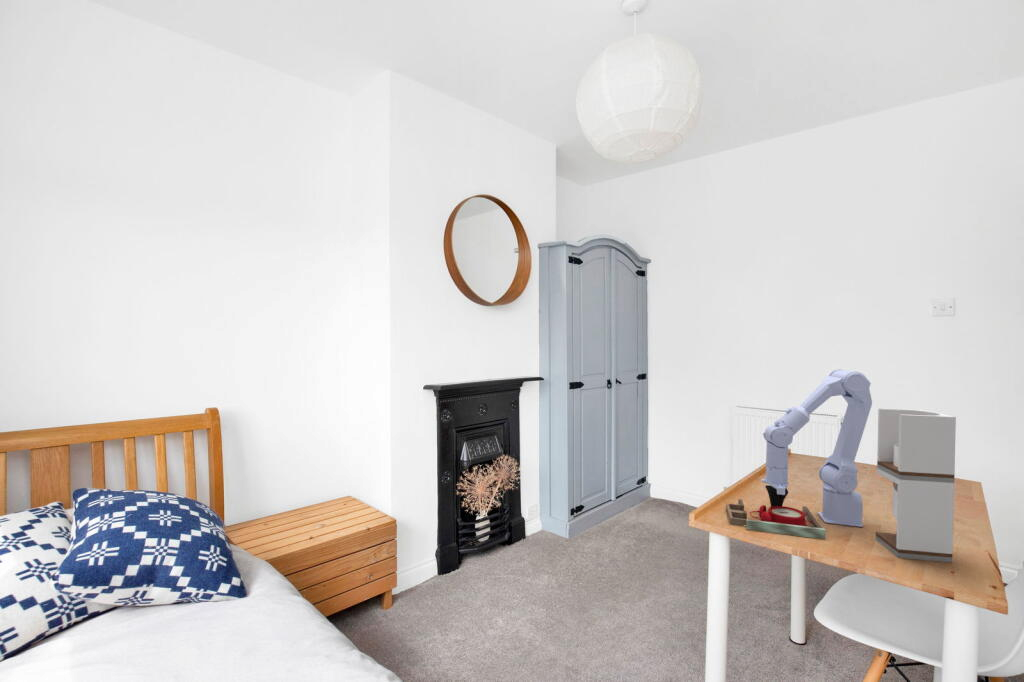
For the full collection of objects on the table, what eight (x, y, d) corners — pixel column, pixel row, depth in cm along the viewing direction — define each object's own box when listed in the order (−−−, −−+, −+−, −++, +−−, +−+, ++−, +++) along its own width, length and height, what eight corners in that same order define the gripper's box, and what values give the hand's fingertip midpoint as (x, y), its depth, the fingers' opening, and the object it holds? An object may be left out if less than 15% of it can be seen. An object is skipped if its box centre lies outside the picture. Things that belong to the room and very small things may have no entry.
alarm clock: (816, 522, 133) (757, 503, 138) (810, 544, 134) (751, 524, 138) (807, 509, 143) (752, 492, 148) (801, 529, 143) (746, 511, 148)
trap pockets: (740, 510, 151) (740, 504, 151) (745, 526, 139) (745, 519, 139) (726, 508, 152) (726, 503, 152) (730, 524, 140) (730, 517, 140)
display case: (924, 544, 128) (928, 410, 128) (952, 562, 118) (955, 417, 117) (875, 539, 130) (878, 408, 130) (898, 557, 120) (901, 414, 119)
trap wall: (806, 512, 150) (806, 504, 150) (825, 539, 130) (825, 530, 130) (738, 504, 156) (738, 496, 156) (746, 529, 136) (746, 520, 136)
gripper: (758, 459, 154) (757, 502, 154) (765, 471, 140) (765, 518, 140) (783, 461, 152) (782, 504, 152) (793, 473, 138) (792, 521, 138)
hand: (776, 511), depth 146 cm, fingers closed
